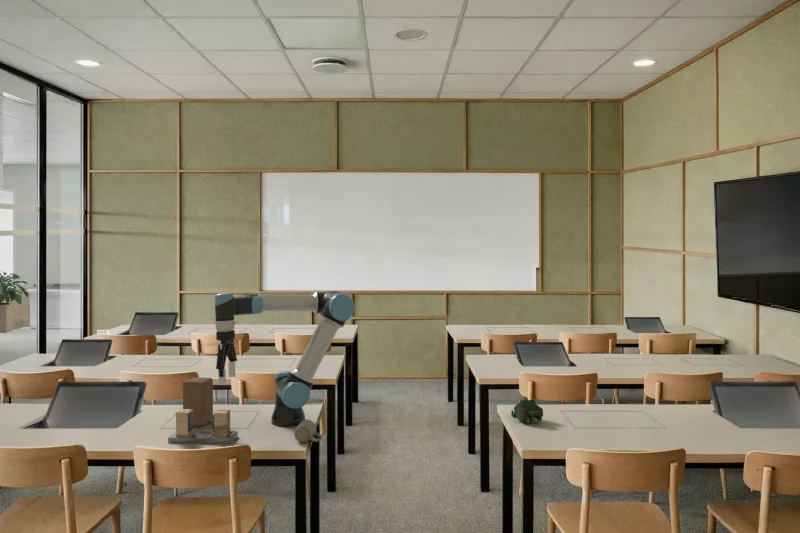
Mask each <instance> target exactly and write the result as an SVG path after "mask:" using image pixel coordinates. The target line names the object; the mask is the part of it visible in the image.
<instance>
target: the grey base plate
mask: <svg viewBox="0 0 800 533" xmlns="http://www.w3.org/2000/svg"><path fill="white" fill-rule="evenodd" d="M194 428H195V426H194V412H193V409H183V408H180V409H179V410H177V411H175V432H174V433H172V434H171V435H170V436H169V437H167V443H168V444H171V443H172V444H176V443H177V444H212V445H213V444H214V445H215V444H218V445H220V444H221V445H231V444H232V443H233V442H234V441H236V439H237V438H238V436H239V432H238V430H230V434H229V435H228V436H227V437H216V436H214V432H213V431H201V430H200V431H199V430H198V431H197V430H196V431H194Z"/></svg>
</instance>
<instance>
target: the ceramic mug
mask: <svg viewBox="0 0 800 533" xmlns="http://www.w3.org/2000/svg"><path fill="white" fill-rule="evenodd" d="M314 436H315V437H314ZM316 437H317V438H316ZM294 438H295V440H296V441H297V442H299V443H307V442H309V441H313V442H314V443H319V442H321V439H323V438H322V435H321V434H320V433H319V432H318V431H317V426H316V423H315V422H314V421H312V420H311V419H305V420H303V421H302V422H301V423H300V424H299V425H297V427H296V428H295V431H294Z"/></svg>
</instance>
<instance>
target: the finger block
mask: <svg viewBox="0 0 800 533" xmlns="http://www.w3.org/2000/svg"><path fill="white" fill-rule="evenodd" d="M230 431H231V409H217V410H216V411H215V412H213V420H212V432H214V436H216V437H227V436H228V435H229V434H230Z"/></svg>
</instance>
